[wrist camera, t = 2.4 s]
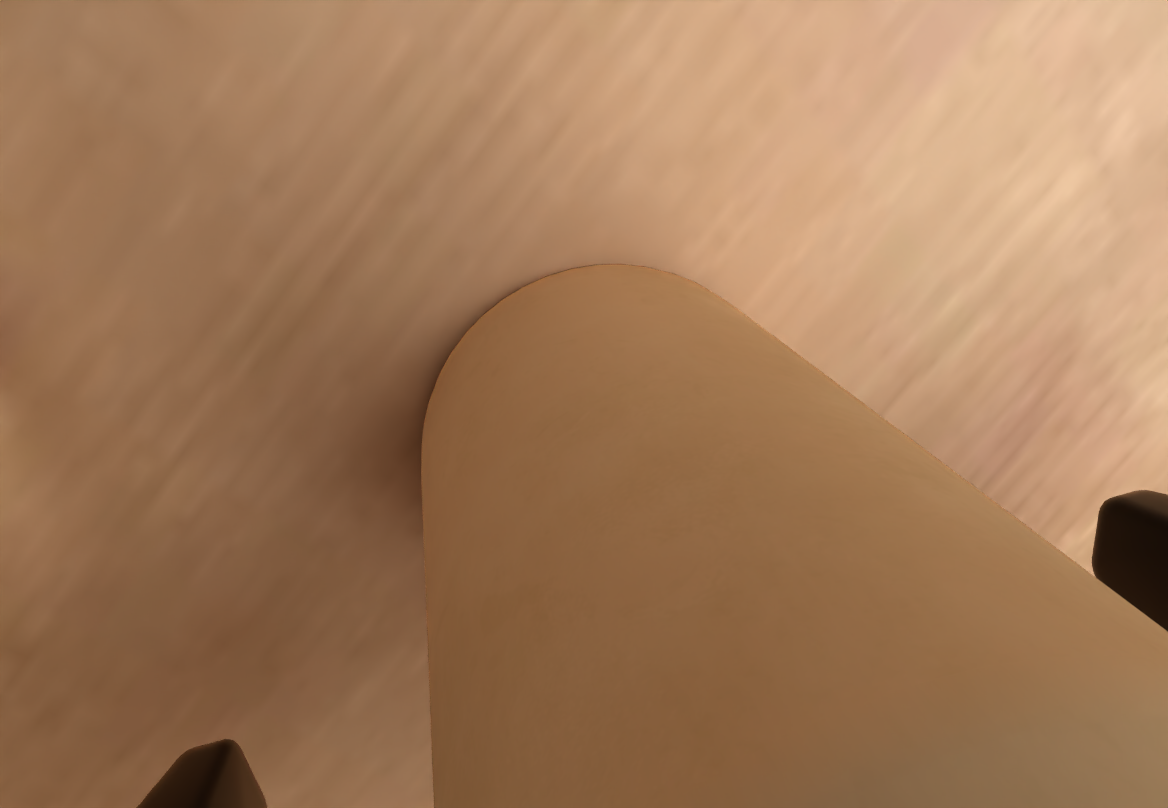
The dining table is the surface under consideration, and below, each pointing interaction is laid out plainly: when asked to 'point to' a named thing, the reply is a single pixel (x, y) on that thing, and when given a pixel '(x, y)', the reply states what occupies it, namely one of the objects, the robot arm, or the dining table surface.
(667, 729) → the candle
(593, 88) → the dining table surface
